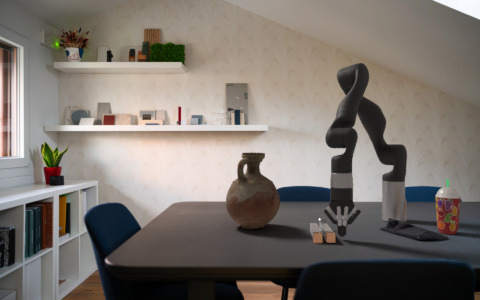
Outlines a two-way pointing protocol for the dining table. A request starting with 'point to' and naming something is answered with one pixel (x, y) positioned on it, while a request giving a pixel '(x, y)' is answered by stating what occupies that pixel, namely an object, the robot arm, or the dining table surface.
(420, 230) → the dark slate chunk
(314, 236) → the base
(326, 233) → the tong arm
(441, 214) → the smoothie
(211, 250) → the dining table surface
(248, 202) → the jug
